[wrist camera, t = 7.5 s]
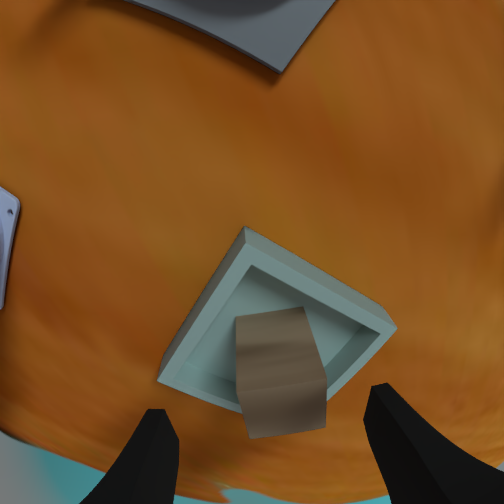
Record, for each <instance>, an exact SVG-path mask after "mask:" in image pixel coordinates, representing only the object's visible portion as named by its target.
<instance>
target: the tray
mask: <svg viewBox="0 0 504 504" xmlns="http://www.w3.org/2000/svg"><path fill="white" fill-rule="evenodd" d="M302 306H303V307H304V310H305V313H306V316H307V319H308V322H309V325H310V328H311V331H312V334H313V337H314V340H315V343H316V346H317V349H318V352H319V355H320V358H321V361H322V364H323V367H324V370H325V373H326V376H327V401H328V400H329V399H330V398H331V397H332V396H333V395H334V394H335V393H336V392H337V391H338V390H339V389H340V388H341V387H342V386H343V385H344V384H346V383H347V382H348V381H349V380H350V379H351V378H352V377H353V376H354V375H355V374H356V373H357V372H358V371H359V370H360V369H361V368H362V367H363V366H364V365H365V364H366V362H367V361H368V360H369V359H370V358H371V357H372V356H373V355H374V354H375V353H376V352H377V351H378V350H379V349H380V348H381V347H382V345H383V344H384V343H385V342H386V341H387V340H388V339H389V338H390V337H391V335H392V334H393V333H394V332H395V331H396V330H397V329H398V328H397V327H396V325H395V324H394V322H393V321H392V320H391V318H390V317H389V315H388V314H387V312H386V311H385V309H384V308H383V307H382V306H381V305H379V304H377V303H376V302H374V301H372V300H371V299H369V298H367V297H366V296H364V295H362V294H361V293H359V292H357V291H356V290H354V289H352V288H351V287H349V286H347V285H345V284H344V283H342V282H340V281H339V280H337V279H335V278H334V277H332V276H330V275H329V274H327V273H325V272H324V271H322V270H320V269H318V268H317V267H315V266H313V265H312V264H310V263H308V262H306V261H305V260H303V259H301V258H300V257H298V256H296V255H294V254H293V253H291V252H289V251H288V250H286V249H284V248H282V247H281V246H279V245H277V244H276V243H274V242H272V241H270V240H269V239H267V238H265V237H263V236H262V235H260V234H258V233H256V232H255V231H253V230H251V229H250V228H248V227H246V226H244V227H243V228H242V230H241V232H240V233H239V235H238V236H237V238H236V239H235V241H234V243H233V244H232V246H231V247H230V249H229V250H228V252H227V254H226V255H225V257H224V258H223V260H222V261H221V263H220V265H219V266H218V268H217V269H216V271H215V273H214V274H213V276H212V277H211V279H210V281H209V282H208V284H207V285H206V287H205V288H204V290H203V292H202V293H201V295H200V296H199V298H198V300H197V301H196V303H195V305H194V306H193V308H192V309H191V311H190V313H189V314H188V316H187V317H186V319H185V321H184V322H183V324H182V326H181V327H180V329H179V330H178V332H177V334H176V335H175V337H174V339H173V340H172V342H171V343H170V345H169V347H168V348H167V350H166V352H165V353H164V355H163V358H162V362H161V366H160V370H159V374H158V378H157V381H158V382H160V383H163V384H165V385H167V386H170V387H172V388H174V389H177V390H179V391H182V392H184V393H186V394H189V395H191V396H194V397H197V398H199V399H202V400H204V401H207V402H210V403H212V404H215V405H218V406H221V407H224V408H226V409H229V410H232V411H235V412H238V413H241V414H242V410H241V407H240V403H239V400H238V396H237V392H236V316H242V315H249V314H256V313H263V312H270V311H276V310H283V309H289V308H295V307H302Z"/></svg>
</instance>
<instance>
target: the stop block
mask: <svg viewBox="0 0 504 504" xmlns="http://www.w3.org/2000/svg"><path fill="white" fill-rule="evenodd" d="M236 392H237V396H238V400H239V403H240V407H241V410H242V414H243V417H244V421H245V424H246V428H247V431H248V435H249V438H250V439H254V438H263V437H271V436H278V435H285V434H292V433H298V432H304V431H309V430H315V429H320V428H325V427H326V405H327V376H326V373H325V370H324V367H323V364H322V361H321V358H320V355H319V352H318V349H317V346H316V343H315V340H314V337H313V334H312V331H311V328H310V325H309V322H308V319H307V316H306V313H305V310H304V307H303V306H302V307H295V308H289V309H283V310H276V311H270V312H263V313H256V314H249V315H242V316H236Z"/></svg>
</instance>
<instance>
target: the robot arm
mask: <svg viewBox="0 0 504 504" xmlns="http://www.w3.org/2000/svg"><path fill="white" fill-rule="evenodd" d="M11 210H12V212H13V215H12V213H11ZM19 210H20V202H19V200H18V199H17V198H16V197H15V196H13V195H12V194H10V193H9V192H8V191H6V190H5V189H3V188H2V187H0V309H2V308H3V306H4V296H5V287H6V279H7V272H8V265H9V259H10V253H11V247H12V242H13V237H14V232H15V227H16V223H17V218H18V214H19ZM363 421H364V425H365V429H366V433H367V437H368V440H369V444H370V446H371V449H372V452H373V454H374V457H375V459H376V462H377V464H378V467H379V469H380V472H381V474H382V477H383V479H384V482H385V484H386V487H387V490H388V493H389V496H390V500H391V503H392V504H504V472H503V471H500V470H498V469H496V468H494V467H492V466H490V465H488V464H486V463H484V462H482V461H480V460H478V459H476V458H475V457H473V456H471V455H470V454H468V453H467V452H465V451H464V450H462V449H461V448H459V447H458V446H456V445H455V444H453V443H452V442H451V441H449V440H448V439H447V438H446V437H444V436H443V435H442V434H441V433H439V432H438V431H437V430H436V429H435V428H434V427H432V426H431V425H430V424H429V423H428V422H427V421H426V420H425V419H424V418H422V417H421V416H420V415H419V414H418V413H417V412H416V411H415V410H414V409H413V408H412V407H411V406H410V405H409V404H408V403H407V402H406V401H405V400H404V399H403V398H402V397H401V396H400V395H399V394H398V393H397V392H396V391H395V390H394V389H393V388H392V387H391V386H390V384H388V383H383V384H379V385H375V386H371V391H370V395H369V399H368V403H367V407H366V411H365V415H364V418H363ZM178 466H179V439H178V437H177V435H176V433H175V431H174V429H173V426H172V424H171V422H170V420H169V418H168V416H167V414H166V411H165V409H148V410H147V411H146V412H145V414H144V416H143V418H142V419H141V421H140V423H139V425H138V426H137V428H136V430H135V431H134V433H133V435H132V436H131V438H130V440H129V441H128V443H127V444H126V446H125V447H124V449H123V450H122V452H121V453H120V455H119V457H118V458H117V459H116V461H115V462H114V464H113V465H112V466H111V468H110V469H109V470H108V472H107V473H106V474H105V476H104V477H103V478H102V479H101V481H100V482H99V483H98V484H97V486H96V487H95V488H94V489H93V490H92V491H91V492H90V493H89V494H88V496H86V497H85V498H84V499H83V500H82V501H81V502H80V503H79V504H173V500H174V494H175V487H176V480H177V473H178Z"/></svg>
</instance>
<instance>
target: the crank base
mask: <svg viewBox="0 0 504 504" xmlns="http://www.w3.org/2000/svg"><path fill="white" fill-rule="evenodd" d="M123 1H126V2H129V3H132V4H135V5H138V6H141V7H143V8H146V9H149V10H151V11H154V12H156V13H159V14H161V15H164V16H166V17H169V18H171V19H174V20H176V21H178V22H181V23H183V24H185V25H187V26H190V27H192V28H194V29H196V30H198V31H200V32H203V33H205V34H207V35H209V36H211V37H213V38H215V39H217V40H219V41H221V42H223V43H225V44H227V45H229V46H231V47H233V48H234V49H236V50H238V51H240V52H242V53H244V54H246V55H247V56H249V57H251V58H253V59H255V60H256V61H258V62H260V63H261V64H263V65H265V66H267V67H268V68H270V69H272V70H273V71H275V72H277V73H278V74H281V73H282V71H283V70H284V68H285V67H286V66H287V64H288V63H289V61H290V60H291V59H292V57H293V56H294V54H295V53H296V52H297V50H298V49H299V47H300V46H301V45H302V43H303V42H304V41H305V39H306V38H307V37H308V35H309V34H310V32H311V31H312V30H313V28H314V27H315V26H316V24H317V23H318V22H319V21H320V19H321V18H322V17H323V15H324V14H325V13H326V11H327V10H328V9H329V8H330V6H331V5H332V4H333V2H334V1H335V0H123Z"/></svg>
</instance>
